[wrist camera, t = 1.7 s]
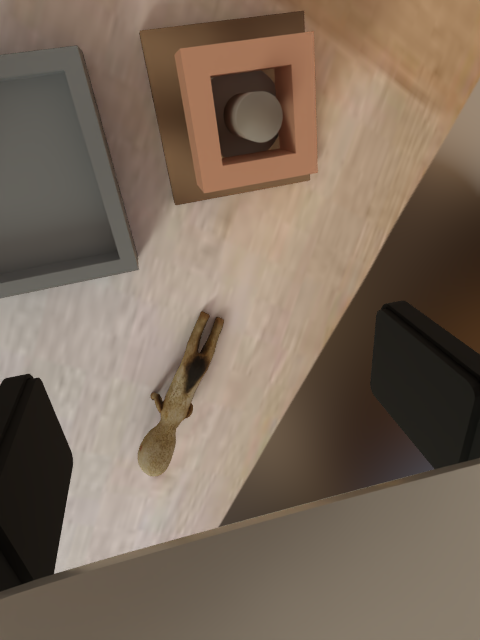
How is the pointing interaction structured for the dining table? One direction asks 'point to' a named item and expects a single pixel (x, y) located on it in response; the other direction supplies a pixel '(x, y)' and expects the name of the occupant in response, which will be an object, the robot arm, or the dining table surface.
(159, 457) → the figurine
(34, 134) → the tray
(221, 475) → the dining table surface
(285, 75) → the ring
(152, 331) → the dining table surface
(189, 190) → the brown piece
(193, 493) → the dining table surface
